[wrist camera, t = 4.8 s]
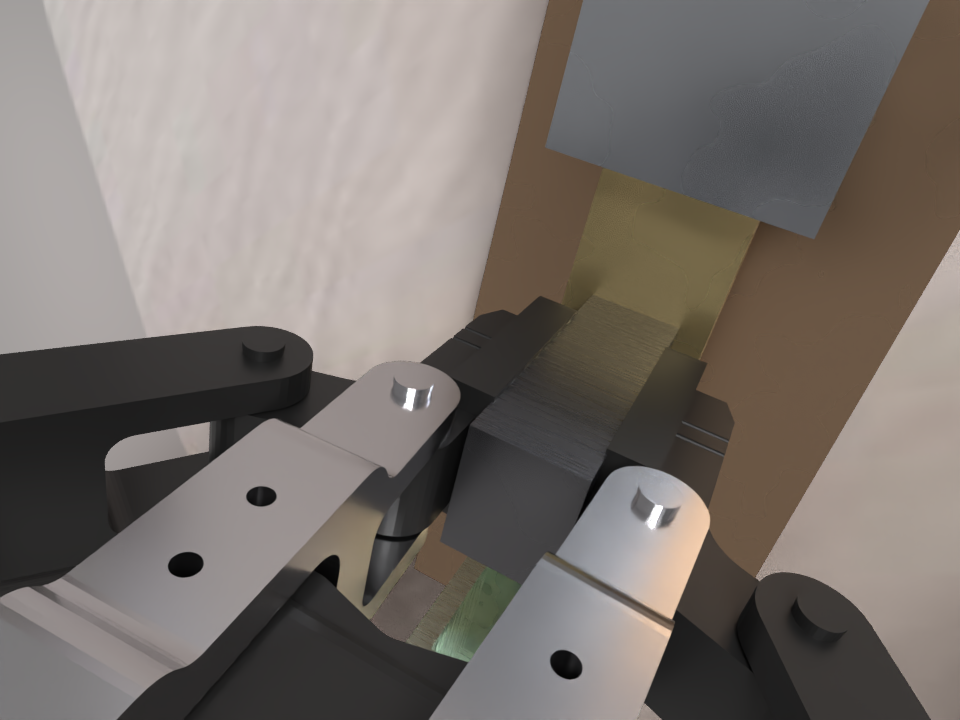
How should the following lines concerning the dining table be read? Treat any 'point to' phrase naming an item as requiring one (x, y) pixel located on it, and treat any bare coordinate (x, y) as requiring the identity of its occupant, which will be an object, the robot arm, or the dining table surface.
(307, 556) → the robot arm
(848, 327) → the multicoloured piece
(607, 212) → the rod
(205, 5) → the dining table surface
